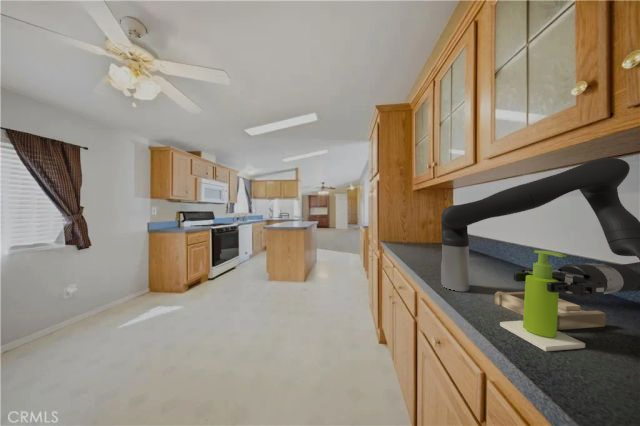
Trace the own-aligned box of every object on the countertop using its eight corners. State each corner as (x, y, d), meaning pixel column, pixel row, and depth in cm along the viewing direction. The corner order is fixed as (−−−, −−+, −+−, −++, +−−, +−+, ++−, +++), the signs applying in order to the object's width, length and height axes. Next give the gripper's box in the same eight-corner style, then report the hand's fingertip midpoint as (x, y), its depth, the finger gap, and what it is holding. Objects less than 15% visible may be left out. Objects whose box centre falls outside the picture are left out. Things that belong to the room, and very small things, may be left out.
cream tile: (500, 325, 60) (500, 322, 60) (533, 323, 61) (533, 319, 61) (545, 351, 49) (545, 346, 49) (585, 347, 50) (585, 343, 50)
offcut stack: (530, 305, 72) (530, 293, 72) (544, 304, 72) (544, 292, 72) (572, 322, 61) (572, 308, 61) (588, 321, 61) (588, 307, 61)
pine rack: (494, 303, 74) (494, 291, 73) (537, 301, 75) (537, 289, 75) (552, 330, 57) (552, 315, 57) (605, 326, 59) (605, 311, 59)
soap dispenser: (551, 341, 50) (556, 254, 50) (517, 326, 57) (521, 248, 56) (568, 338, 52) (573, 253, 51) (532, 323, 58) (537, 248, 58)
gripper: (555, 258, 63) (503, 260, 61) (630, 271, 49) (565, 275, 47) (555, 284, 63) (503, 287, 61) (630, 305, 49) (566, 310, 47)
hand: (530, 281), depth 54 cm, fingers open, 7 cm apart
